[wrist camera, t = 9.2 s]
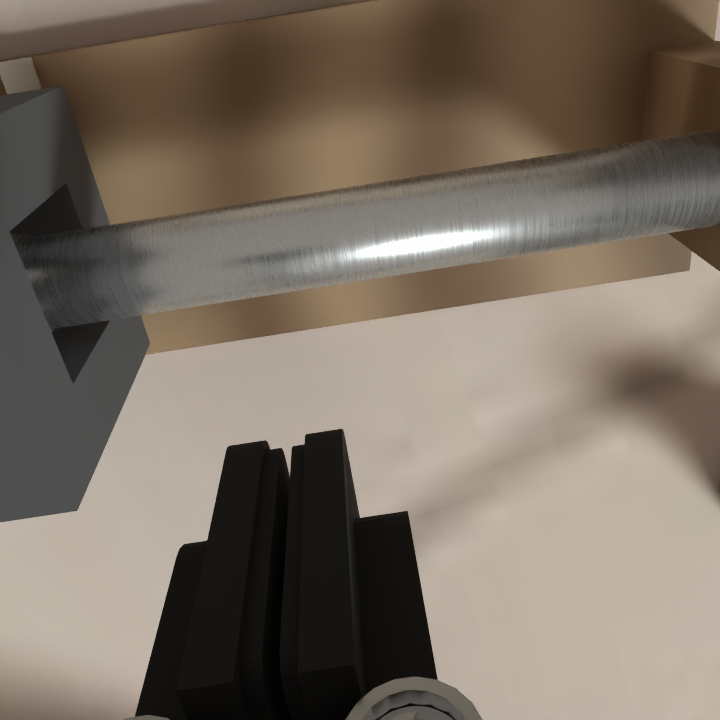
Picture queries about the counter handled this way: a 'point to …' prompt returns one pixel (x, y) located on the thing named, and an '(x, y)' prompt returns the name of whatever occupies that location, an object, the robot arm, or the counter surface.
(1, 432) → the rubber collar
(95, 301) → the steel pipe
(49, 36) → the counter surface
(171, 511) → the counter surface
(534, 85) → the pipe stand
